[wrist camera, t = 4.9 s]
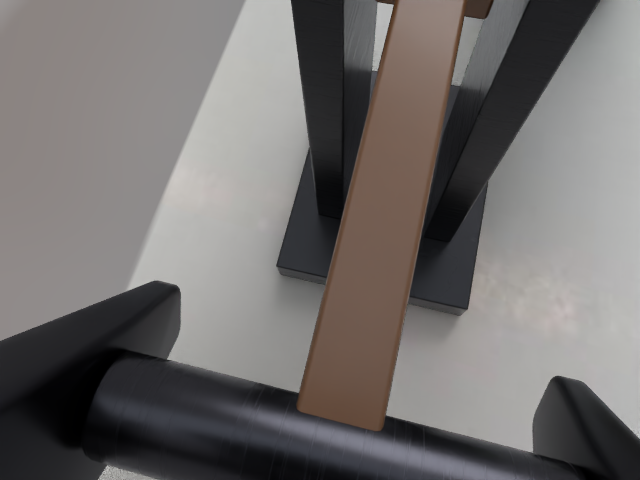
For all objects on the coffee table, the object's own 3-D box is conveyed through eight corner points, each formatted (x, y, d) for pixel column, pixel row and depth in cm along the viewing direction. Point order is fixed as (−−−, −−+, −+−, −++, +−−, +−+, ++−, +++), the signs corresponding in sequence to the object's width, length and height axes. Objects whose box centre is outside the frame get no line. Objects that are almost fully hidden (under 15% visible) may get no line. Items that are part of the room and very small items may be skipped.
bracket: (460, 316, 19) (732, 88, 6) (279, 274, 20) (148, -11, 7) (494, 110, 22) (735, -375, 8) (333, 80, 23) (317, -406, 9)
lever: (529, 562, 7) (614, 637, 5) (128, 451, 8) (39, 471, 6) (603, -77, 10) (675, -212, 8) (312, -118, 11) (304, -251, 9)
